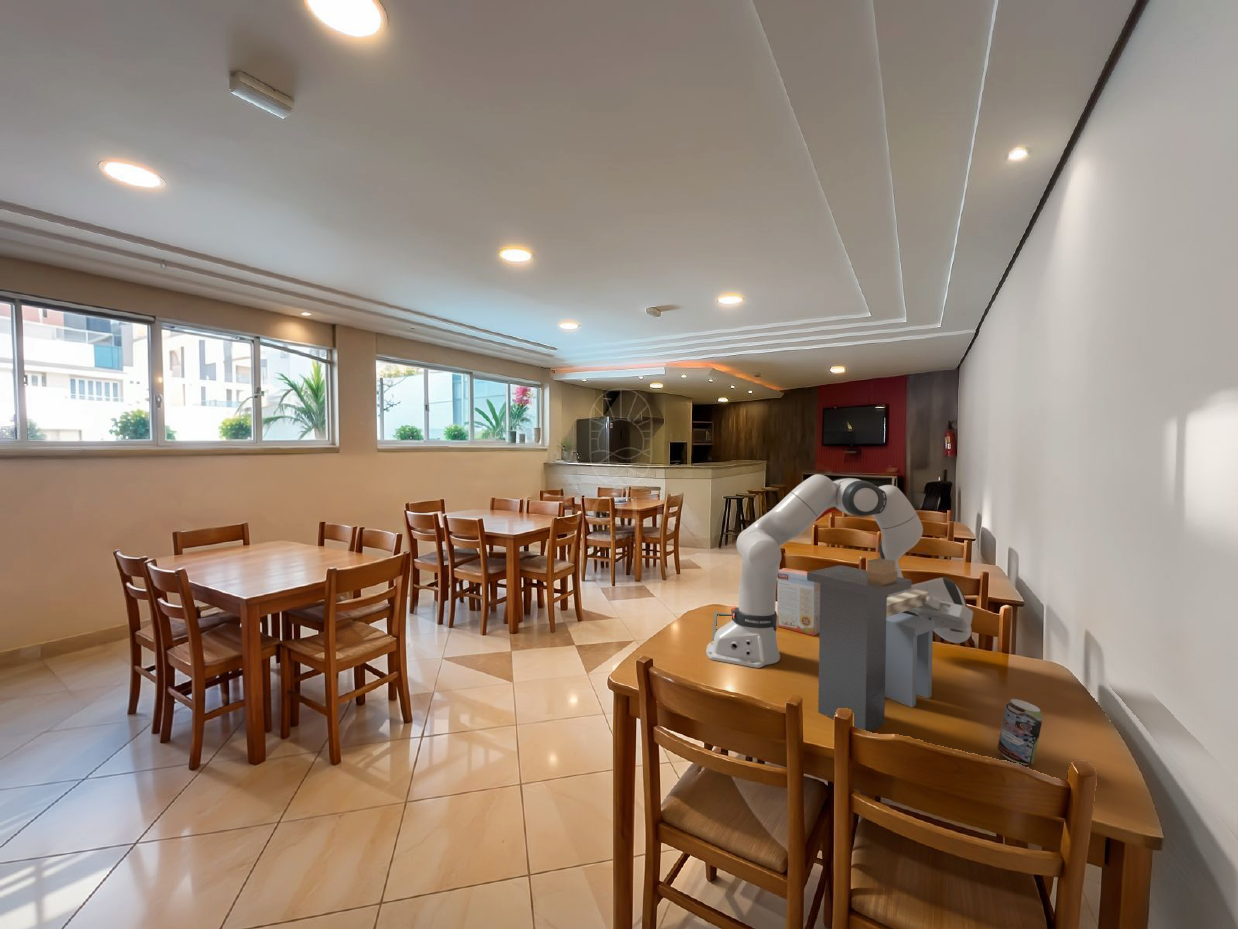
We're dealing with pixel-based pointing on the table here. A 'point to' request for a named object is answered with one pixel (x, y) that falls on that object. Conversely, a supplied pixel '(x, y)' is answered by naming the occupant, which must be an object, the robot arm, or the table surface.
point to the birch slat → (905, 601)
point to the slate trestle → (908, 658)
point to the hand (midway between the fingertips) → (915, 596)
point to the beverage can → (1020, 731)
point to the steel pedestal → (855, 638)
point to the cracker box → (798, 602)
